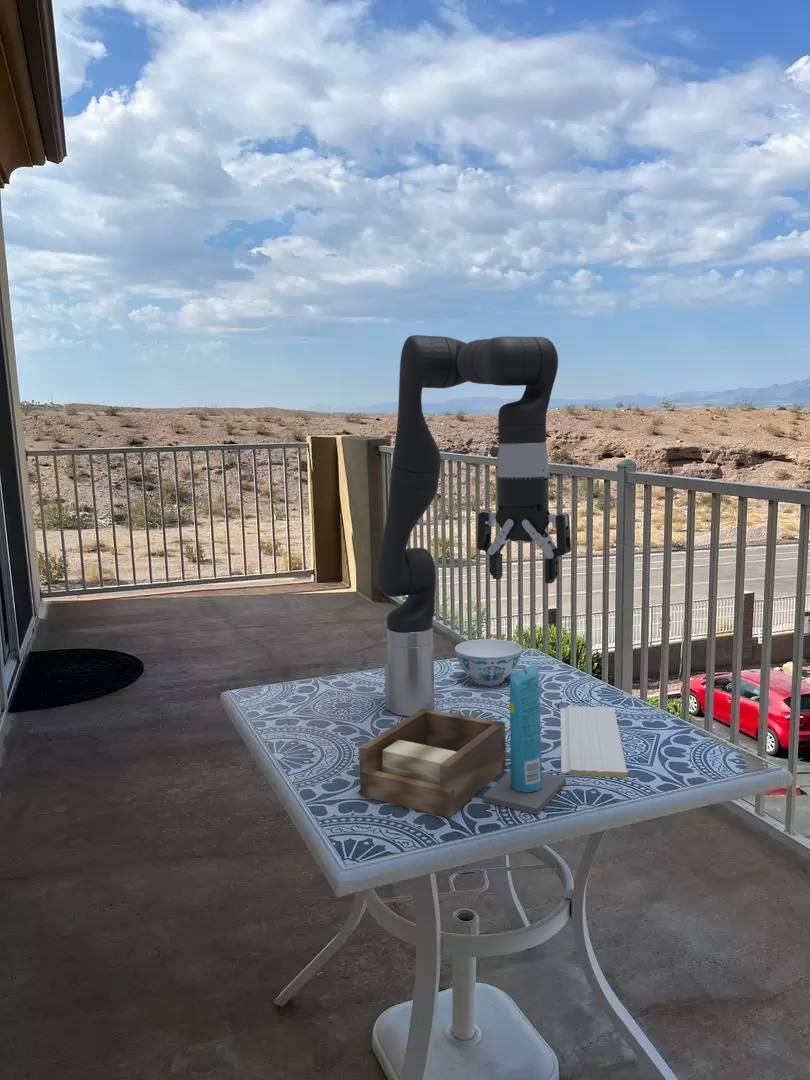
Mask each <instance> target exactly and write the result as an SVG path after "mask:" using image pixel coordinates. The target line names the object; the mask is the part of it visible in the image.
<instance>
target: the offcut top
mask: <svg viewBox="0 0 810 1080" xmlns="http://www.w3.org/2000/svg"><path fill="white" fill-rule="evenodd" d="M455 753H456V752H455V751H451V750H446V749H441V748H436V747H432V746H427V745H422V744H417V743H413V742H408V741H403V740H398V741H396V742H395V743H393V744H391V745H390V746H388V747H387V748H385V749H384V750H382V758H383V766H387V767H392V768H396V769H400V770H405V771H409V772H414V773H418V774H422V775H427V776H431V777H435V778H439V779H440V764H442V763H443V762H444V761H446V760H447V759H448V758H449V757H451V756H452V755H453V754H455Z"/></svg>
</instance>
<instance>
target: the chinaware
mask: <svg viewBox="0 0 810 1080" xmlns="http://www.w3.org/2000/svg"><path fill="white" fill-rule="evenodd" d="M454 649H455V655H456V658H457V661H458V663H459V665H460V667H461V668H462V670H463V671H465V673H466V674H467V675H468V676H470V677H471V678H473V681H474V683H476V684H477V683H478V685H481V684H482V686H497V684H498V685H500V683H501V684H502V682H503V681H505V678H507V677H508V676H510V674H512V673H514V670H515V669H516V668H517V666H518V665H519V662H520V661H521V658H522V652H523V646H522V645H521V644H519V643H518V642H515V641H511V640H504V639H494V638H485V639H484V638H481V639H472V640H467V641H463V642H461V643H459V644H456V646H455V648H454ZM503 683H504V682H503Z"/></svg>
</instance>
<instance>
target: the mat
mask: <svg viewBox="0 0 810 1080" xmlns="http://www.w3.org/2000/svg"><path fill="white" fill-rule="evenodd" d="M566 781H567V778H566V777H565V776H564V777H563V776H559V775H553V774H548V773H545V772H542V787H541V788H540V789H539V790H537V791H533V792H520V791H516V790H514V789H513V788H512V787H511V769H510V771H508V772H507V773H506V774H504V776H503V777H501V778H500V779H499V780H498V781H497V782H496V783H495V784H493V785H492V787H490V788H489V789H488V790H487V791H486V792H485V793H484V794H483V795H482V803H485V802H487V803H486V804H489V803H491V805H494V804H495V806H498V805H500V806H499V807H502V806H503V808H506V807H507V809H512V810H516V811H521V812H525V813H528V814H533V815H535V816H537V815H539V813H541V811H543V809H545V807H546V806H547V805H548V804H549V803H550V801H551V800H552V799H554V797H555V796H556V795H558V793H559V792H560V791H561V790H562V788H563V787H564V786H566V785H567V782H566ZM560 789H561V790H560ZM559 790H560V791H559ZM558 791H559V792H558ZM557 792H558V793H557Z"/></svg>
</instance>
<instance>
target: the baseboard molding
mask: <svg viewBox="0 0 810 1080" xmlns="http://www.w3.org/2000/svg"><path fill="white" fill-rule="evenodd" d="M560 703H561V704H563V700H561V701H560ZM570 703H575V704H578V703H580V704H581V703H592V700H591V699H590V700H589V699H586V700H583V699H580V701H579V702H576V701H575V702H574V701H572V702H570ZM598 704H602V705H603V704H604V705H606V704H609V703H607V702H605V703H603V702H602V703H601V702H598ZM614 705H615V703H614V702H612V706H613V707H611V706H610V707H609V706H580V705H578V706H575V705H574V706H573V705H567V706H566V707H561V708H560V704H557V709H559V711H560V770H561V772H560V774H561V775H564V774H571V776H587V777H588V776H589V777H606V776H607V777H610V778H627V777H628V770H627V765H626V761H625V755H624V751H623V745H622V740H621V735H620V731H619V726H618V721H617V716H616V711H615V710H616V709H615V707H614ZM607 777H606V778H607Z"/></svg>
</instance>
